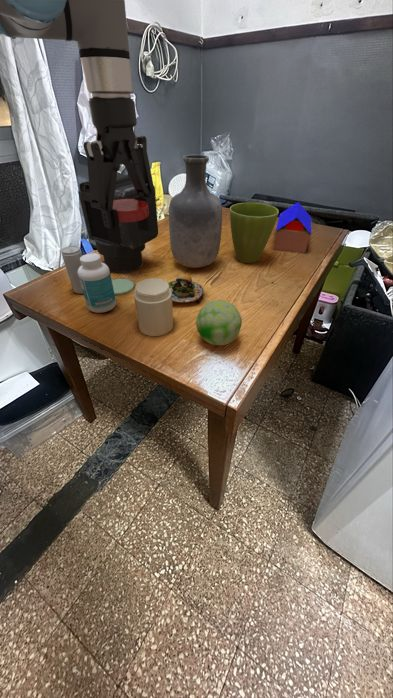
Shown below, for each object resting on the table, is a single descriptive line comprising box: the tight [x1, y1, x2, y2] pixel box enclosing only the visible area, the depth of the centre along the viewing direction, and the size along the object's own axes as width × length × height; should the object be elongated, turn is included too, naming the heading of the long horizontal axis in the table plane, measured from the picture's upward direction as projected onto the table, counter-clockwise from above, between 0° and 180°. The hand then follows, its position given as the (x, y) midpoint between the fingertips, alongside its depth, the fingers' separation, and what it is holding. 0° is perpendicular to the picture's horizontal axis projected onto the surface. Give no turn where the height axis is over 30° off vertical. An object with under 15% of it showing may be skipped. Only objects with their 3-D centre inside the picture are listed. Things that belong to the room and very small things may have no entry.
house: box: [273, 201, 312, 254], centre depth 107 cm, size 12×20×12 cm, turn 164°
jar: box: [133, 277, 174, 337], centre depth 66 cm, size 8×8×11 cm
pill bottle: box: [78, 253, 117, 314], centre depth 71 cm, size 8×7×14 cm
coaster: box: [111, 278, 135, 296], centre depth 83 cm, size 8×8×1 cm
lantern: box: [77, 162, 159, 273], centre depth 84 cm, size 15×18×30 cm
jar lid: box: [113, 199, 149, 222], centre depth 58 cm, size 9×9×2 cm
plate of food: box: [167, 270, 205, 304], centre depth 77 cm, size 12×12×8 cm
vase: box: [168, 153, 223, 269], centre depth 85 cm, size 16×16×30 cm
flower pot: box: [229, 202, 280, 264], centre depth 93 cm, size 15×15×16 cm
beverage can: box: [60, 245, 84, 295], centre depth 78 cm, size 5×5×12 cm
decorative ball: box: [195, 299, 243, 346], centre depth 62 cm, size 10×10×10 cm
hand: (130, 235), depth 62 cm, fingers closed on jar lid, 9 cm apart
